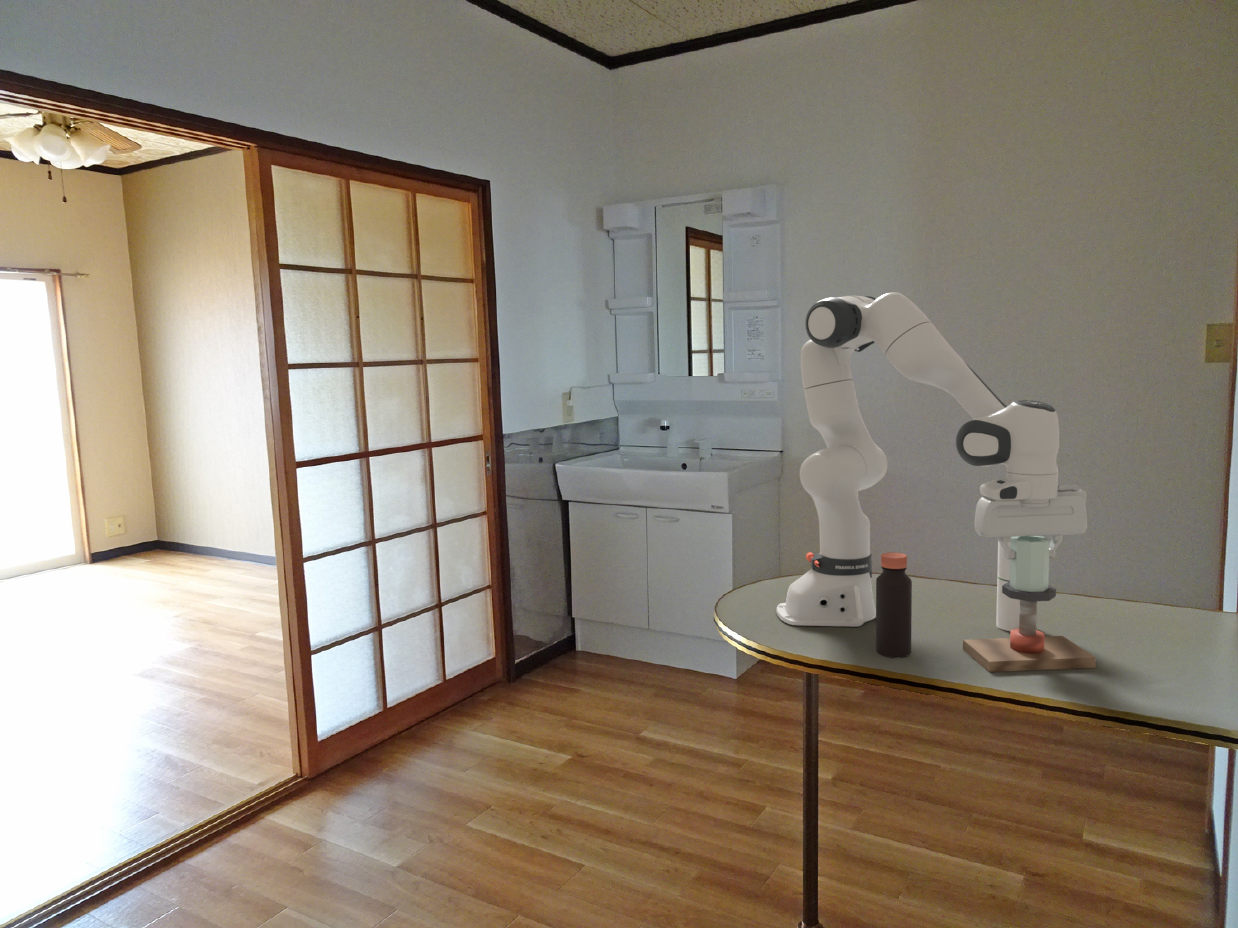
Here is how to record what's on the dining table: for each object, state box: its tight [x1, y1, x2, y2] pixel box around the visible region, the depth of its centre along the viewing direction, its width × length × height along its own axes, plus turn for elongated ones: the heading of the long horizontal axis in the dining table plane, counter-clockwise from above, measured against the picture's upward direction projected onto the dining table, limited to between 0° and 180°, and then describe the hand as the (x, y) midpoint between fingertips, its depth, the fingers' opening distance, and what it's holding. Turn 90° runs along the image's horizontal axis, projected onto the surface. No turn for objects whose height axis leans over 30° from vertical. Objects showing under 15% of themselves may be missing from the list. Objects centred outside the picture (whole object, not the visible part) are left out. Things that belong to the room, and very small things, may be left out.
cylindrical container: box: [995, 539, 1020, 632], centre depth 184 cm, size 7×7×25 cm
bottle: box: [875, 551, 913, 658], centre depth 172 cm, size 7×7×20 cm
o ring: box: [1002, 581, 1057, 602], centre depth 166 cm, size 9×9×2 cm
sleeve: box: [1010, 536, 1051, 592], centre depth 165 cm, size 6×6×10 cm
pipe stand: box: [962, 600, 1097, 673], centre depth 166 cm, size 20×12×16 cm, turn 91°
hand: (1029, 558), depth 165 cm, fingers closed on sleeve, 6 cm apart
